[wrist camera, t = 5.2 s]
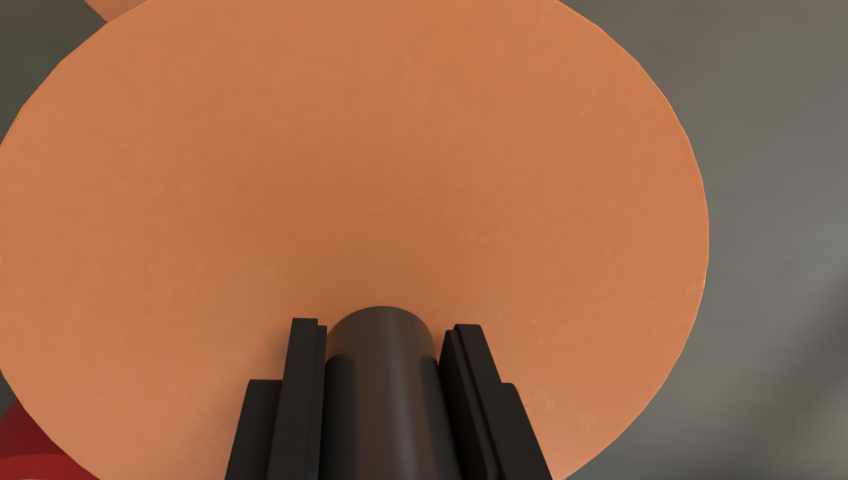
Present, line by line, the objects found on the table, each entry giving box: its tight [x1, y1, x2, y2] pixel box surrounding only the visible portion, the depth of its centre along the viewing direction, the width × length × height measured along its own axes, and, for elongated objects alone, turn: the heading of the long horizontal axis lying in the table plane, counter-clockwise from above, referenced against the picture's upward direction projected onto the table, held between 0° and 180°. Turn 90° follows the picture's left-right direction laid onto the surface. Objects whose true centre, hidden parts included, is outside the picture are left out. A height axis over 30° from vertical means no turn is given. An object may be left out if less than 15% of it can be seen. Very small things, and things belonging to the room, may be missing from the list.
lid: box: [0, 0, 709, 480], centre depth 10 cm, size 17×17×6 cm
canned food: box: [0, 398, 100, 480], centre depth 24 cm, size 8×8×11 cm
